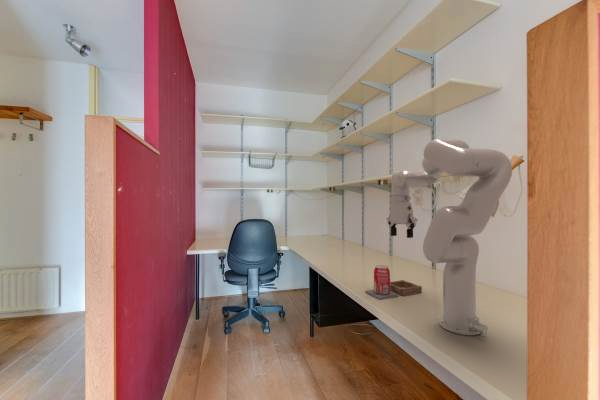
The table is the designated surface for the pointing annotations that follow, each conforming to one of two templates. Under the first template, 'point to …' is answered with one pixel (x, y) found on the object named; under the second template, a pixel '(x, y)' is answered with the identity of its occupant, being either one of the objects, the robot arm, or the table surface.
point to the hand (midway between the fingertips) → (401, 236)
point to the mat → (379, 296)
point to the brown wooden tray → (408, 289)
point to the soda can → (381, 279)
